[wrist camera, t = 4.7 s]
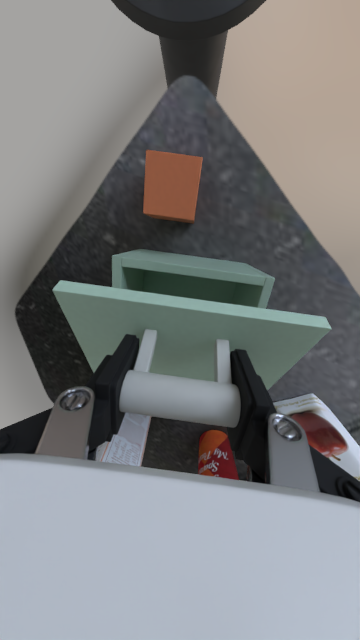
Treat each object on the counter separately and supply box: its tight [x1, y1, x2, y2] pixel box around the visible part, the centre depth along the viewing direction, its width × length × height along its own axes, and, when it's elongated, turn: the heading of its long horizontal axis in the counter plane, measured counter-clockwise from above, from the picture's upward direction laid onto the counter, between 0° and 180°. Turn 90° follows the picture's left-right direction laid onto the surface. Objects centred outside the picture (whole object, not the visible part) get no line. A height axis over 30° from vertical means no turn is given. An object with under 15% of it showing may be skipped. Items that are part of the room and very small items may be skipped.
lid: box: [53, 280, 331, 428], centre depth 15 cm, size 16×14×5 cm
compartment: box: [112, 249, 275, 309], centre depth 24 cm, size 16×14×10 cm
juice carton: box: [273, 393, 360, 481], centre depth 25 cm, size 8×9×19 cm
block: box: [143, 150, 203, 223], centre depth 21 cm, size 5×5×5 cm
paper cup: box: [198, 430, 239, 480], centre depth 32 cm, size 8×8×14 cm
